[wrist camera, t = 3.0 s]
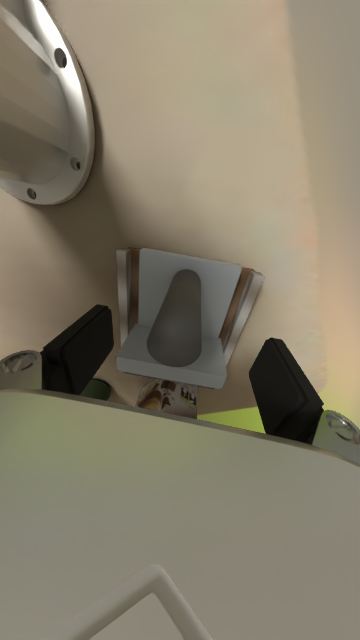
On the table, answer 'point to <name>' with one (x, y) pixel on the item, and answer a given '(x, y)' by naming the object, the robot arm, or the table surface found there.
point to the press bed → (234, 317)
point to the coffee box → (169, 398)
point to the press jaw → (180, 319)
